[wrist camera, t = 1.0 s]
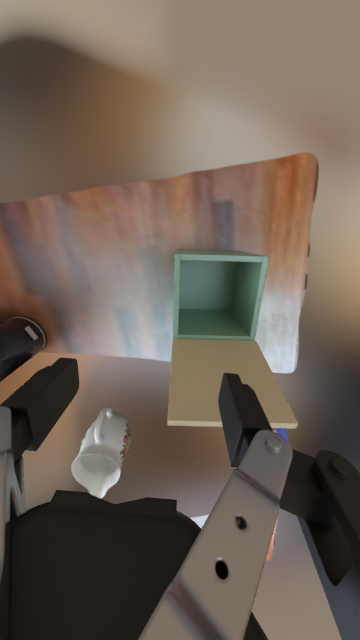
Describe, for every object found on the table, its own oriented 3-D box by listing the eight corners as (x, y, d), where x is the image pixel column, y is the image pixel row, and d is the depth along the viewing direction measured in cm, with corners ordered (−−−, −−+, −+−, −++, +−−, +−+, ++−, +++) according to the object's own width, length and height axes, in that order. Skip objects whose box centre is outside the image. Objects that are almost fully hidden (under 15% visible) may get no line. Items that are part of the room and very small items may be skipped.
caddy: (176, 249, 40) (174, 253, 28) (241, 251, 41) (269, 256, 28) (175, 311, 45) (172, 339, 32) (233, 312, 45) (254, 341, 32)
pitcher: (133, 391, 53) (118, 440, 40) (135, 443, 59) (123, 499, 46) (90, 390, 52) (60, 438, 40) (97, 441, 59) (73, 498, 46)
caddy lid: (167, 420, 20) (167, 425, 20) (298, 423, 20) (296, 428, 20) (172, 338, 31) (172, 342, 32) (256, 340, 31) (254, 344, 32)
